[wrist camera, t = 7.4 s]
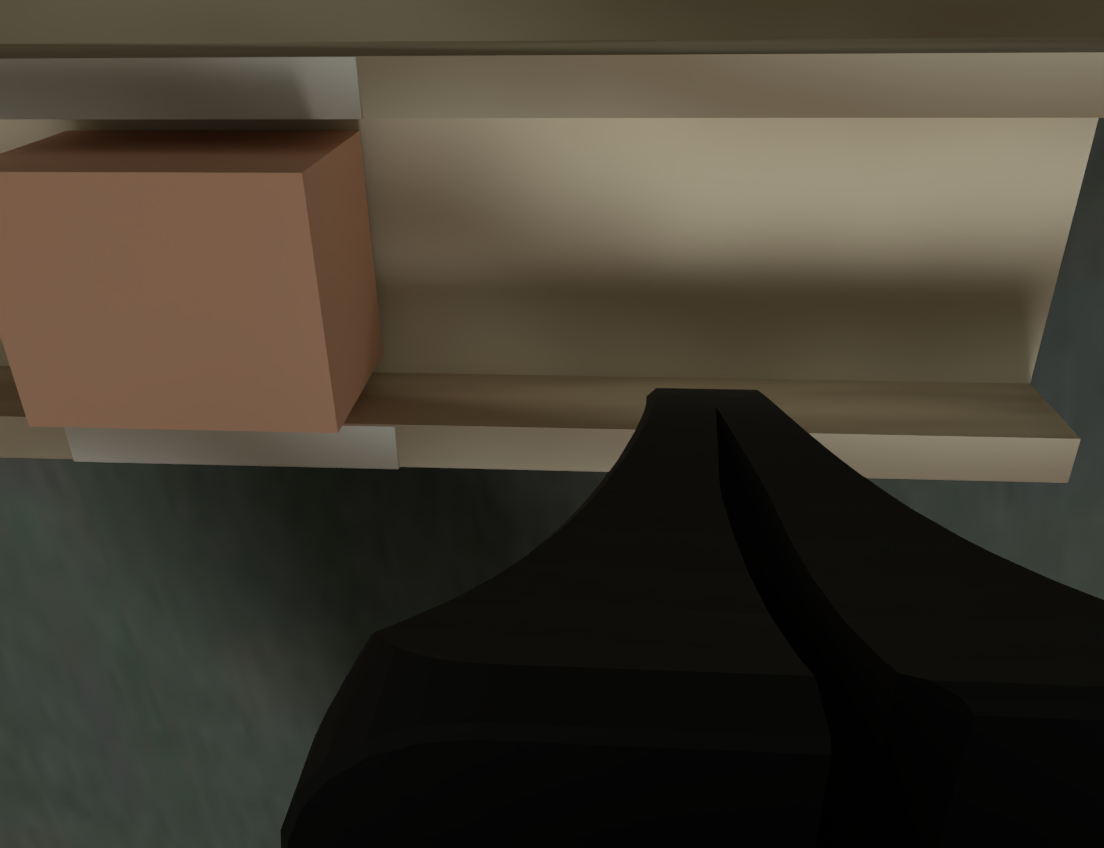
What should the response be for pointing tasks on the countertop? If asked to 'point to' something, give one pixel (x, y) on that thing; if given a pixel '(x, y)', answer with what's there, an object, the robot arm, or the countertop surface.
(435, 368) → the chute
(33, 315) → the block
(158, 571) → the countertop surface
